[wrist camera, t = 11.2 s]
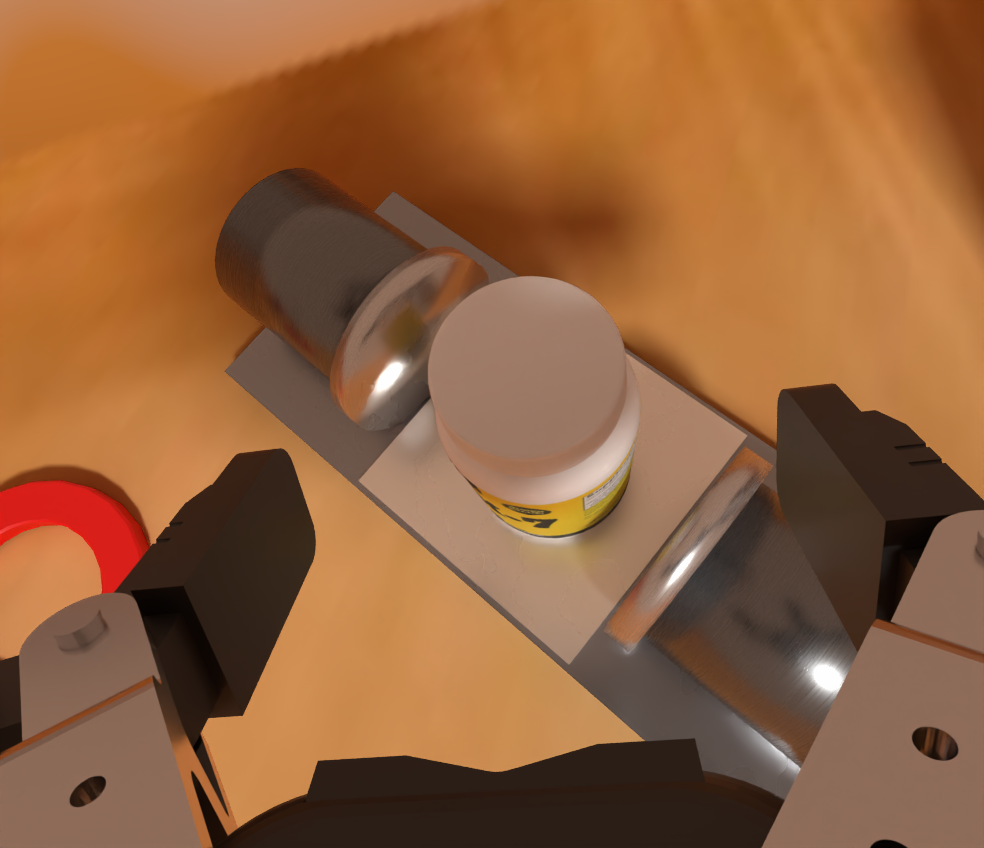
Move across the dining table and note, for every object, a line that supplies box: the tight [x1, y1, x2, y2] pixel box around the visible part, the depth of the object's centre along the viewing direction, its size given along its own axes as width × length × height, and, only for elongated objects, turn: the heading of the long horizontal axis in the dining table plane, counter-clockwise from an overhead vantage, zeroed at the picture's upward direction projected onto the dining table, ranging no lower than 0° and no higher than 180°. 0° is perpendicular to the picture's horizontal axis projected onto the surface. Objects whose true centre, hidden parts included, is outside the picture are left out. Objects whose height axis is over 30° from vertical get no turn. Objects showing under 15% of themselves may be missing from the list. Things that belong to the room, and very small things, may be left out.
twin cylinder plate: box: [215, 168, 858, 799], centre depth 20 cm, size 22×9×6 cm, turn 50°
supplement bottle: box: [428, 276, 641, 539], centre depth 18 cm, size 5×5×8 cm
